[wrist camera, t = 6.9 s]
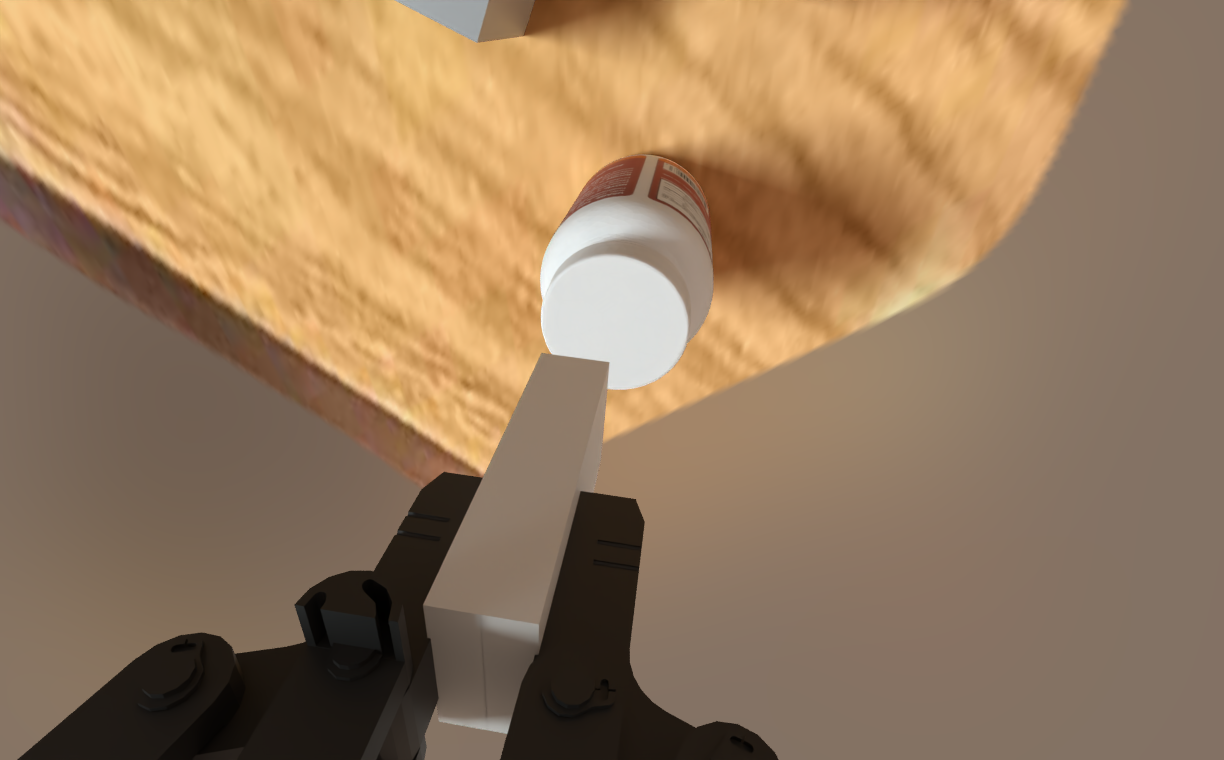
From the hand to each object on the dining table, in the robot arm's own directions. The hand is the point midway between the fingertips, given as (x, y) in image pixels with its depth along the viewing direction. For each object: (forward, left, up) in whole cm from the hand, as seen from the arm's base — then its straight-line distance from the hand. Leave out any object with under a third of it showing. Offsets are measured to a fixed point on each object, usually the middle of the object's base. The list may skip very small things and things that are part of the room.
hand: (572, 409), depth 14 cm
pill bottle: (0, -1, -17) cm, 17 cm away
